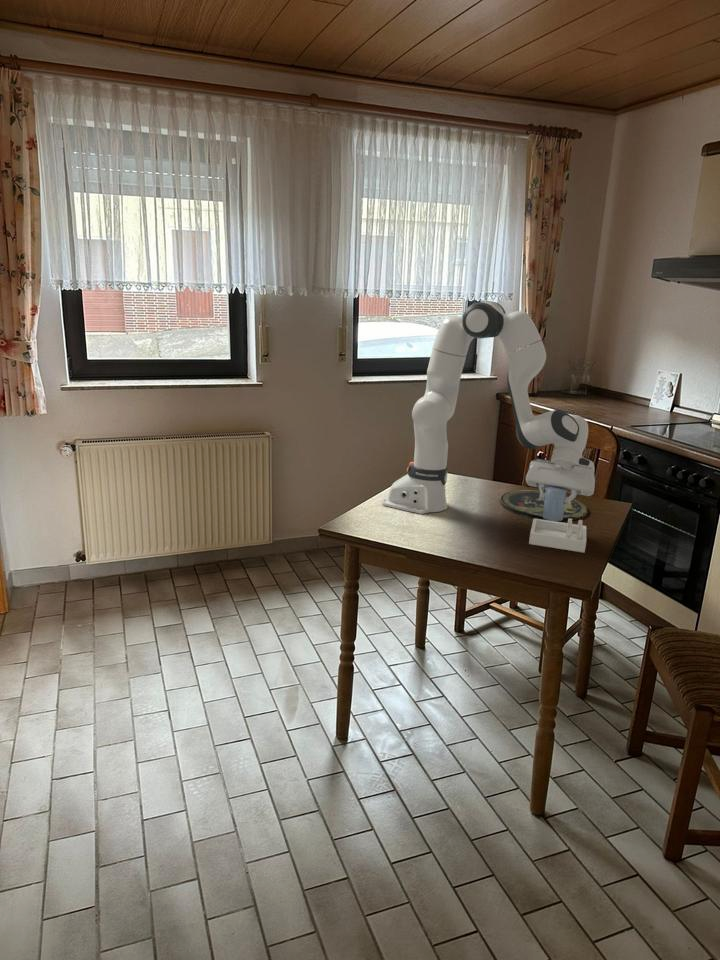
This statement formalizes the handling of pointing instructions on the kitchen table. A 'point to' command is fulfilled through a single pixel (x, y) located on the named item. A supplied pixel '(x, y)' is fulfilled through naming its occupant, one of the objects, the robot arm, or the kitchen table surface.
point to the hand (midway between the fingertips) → (554, 501)
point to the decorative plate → (538, 505)
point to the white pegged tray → (558, 535)
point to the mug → (554, 503)
